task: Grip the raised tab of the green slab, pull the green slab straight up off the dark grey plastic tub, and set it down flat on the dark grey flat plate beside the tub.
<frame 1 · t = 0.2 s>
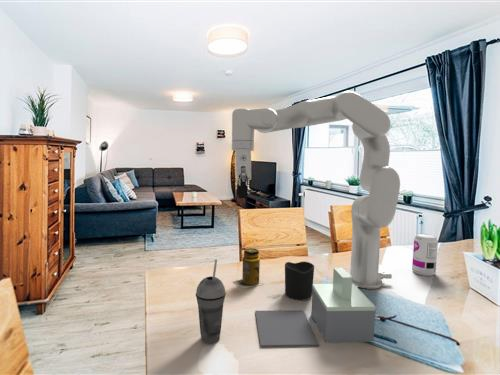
hand: (242, 196, 110), 31 cm above the table, tool pointing down, fingers open, 9 cm apart
condiment: (248, 283, 114), on the table
green slab: (341, 303, 85), point 6 cm above the table, touching tub
supplement can: (423, 273, 127), on the table
pen holder: (298, 295, 105), on the table
beverage cup: (210, 339, 79), on the table
tub: (340, 326, 85), on the table
dark grey flat plate: (284, 327, 84), on the table
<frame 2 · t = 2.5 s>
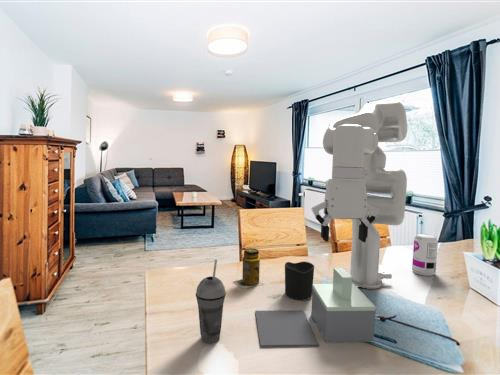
hand: (343, 240, 83), 24 cm above the table, tool pointing down, fingers open, 9 cm apart
nothing on the table moved.
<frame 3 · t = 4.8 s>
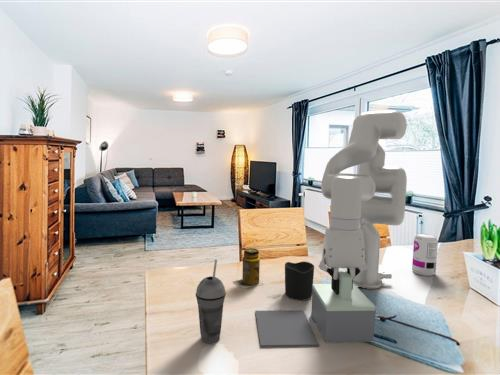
hand: (341, 291, 84), 10 cm above the table, tool pointing down, fingers closed on green slab, 2 cm apart
green slab: (341, 303, 85), point 7 cm above the table, touching gripper, tub
everything else where it was.
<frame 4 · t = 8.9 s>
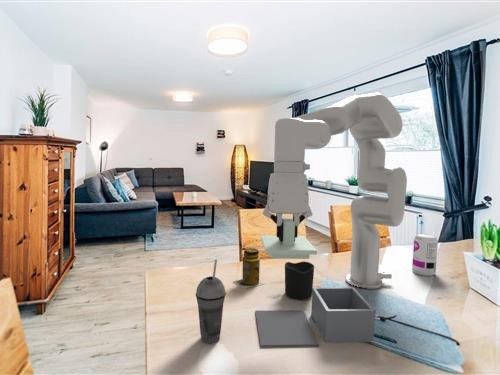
hand: (286, 239, 82), 24 cm above the table, tool pointing down, fingers closed on green slab, 2 cm apart
green slab: (286, 251, 82), point 21 cm above the table, touching gripper
everything else where it was.
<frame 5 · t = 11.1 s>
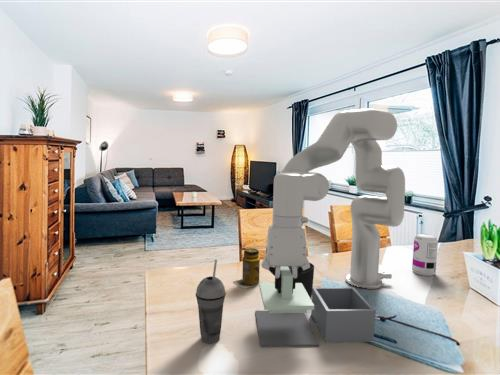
hand: (284, 290, 83), 10 cm above the table, tool pointing down, fingers closed on green slab, 2 cm apart
green slab: (284, 302, 83), point 7 cm above the table, touching gripper
everything else where it was.
when the fingers open (5 cm above the table, at t = 12.8 s): green slab drops 1 cm, resting on dark grey flat plate.
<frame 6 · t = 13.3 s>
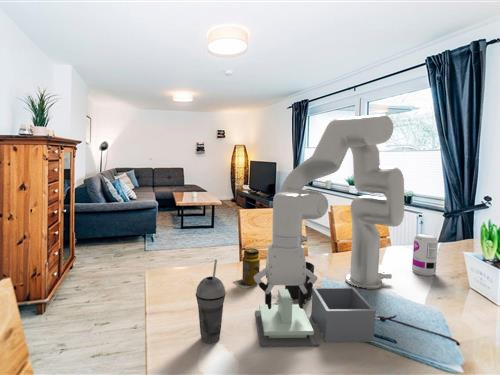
hand: (284, 306, 84), 6 cm above the table, tool pointing down, fingers open, 7 cm apart
green slab: (284, 325, 84), resting on dark grey flat plate
everything else where it was.
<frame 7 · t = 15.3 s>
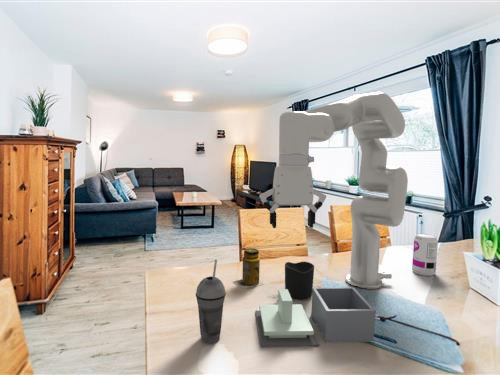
hand: (292, 226, 84), 27 cm above the table, tool pointing down, fingers open, 9 cm apart
nothing on the table moved.
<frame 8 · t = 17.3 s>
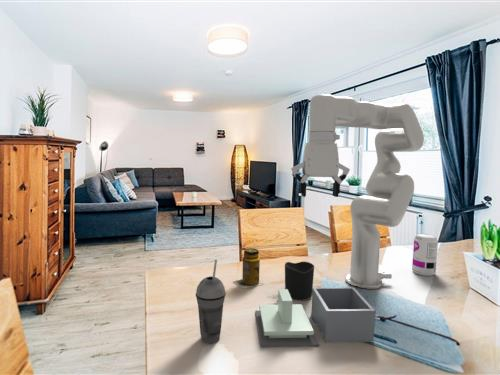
hand: (319, 196, 96), 33 cm above the table, tool pointing down, fingers open, 9 cm apart
nothing on the table moved.
at the end: green slab inside the target area on the dark grey flat plate (0.0 cm from its centre), point 0.5 cm above the dark grey flat plate's base; green slab touching dark grey flat plate; green slab tilted 0° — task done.
